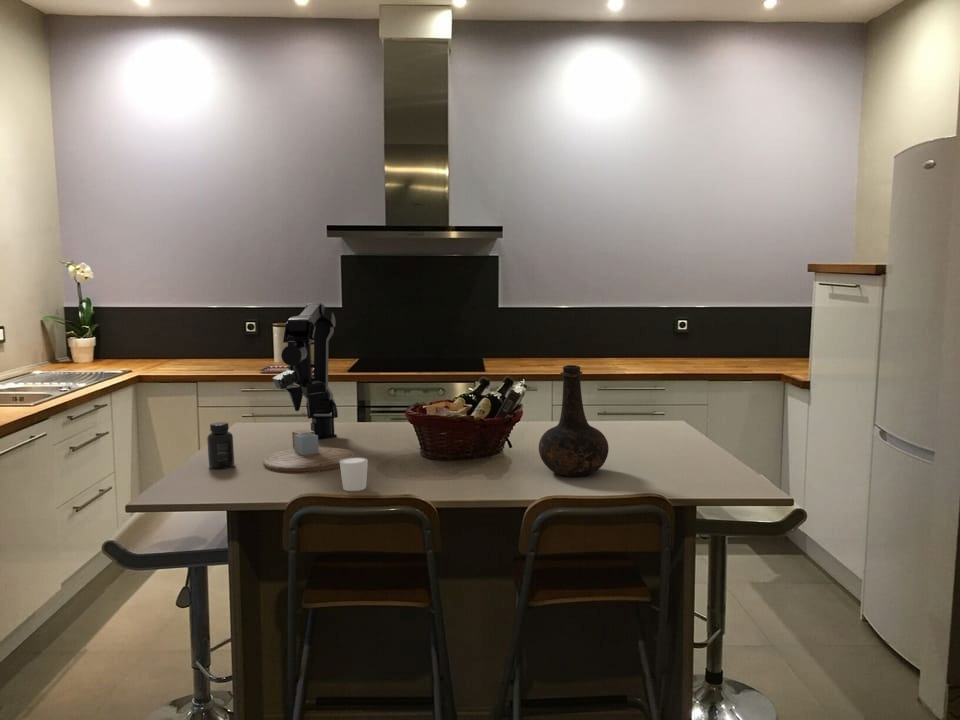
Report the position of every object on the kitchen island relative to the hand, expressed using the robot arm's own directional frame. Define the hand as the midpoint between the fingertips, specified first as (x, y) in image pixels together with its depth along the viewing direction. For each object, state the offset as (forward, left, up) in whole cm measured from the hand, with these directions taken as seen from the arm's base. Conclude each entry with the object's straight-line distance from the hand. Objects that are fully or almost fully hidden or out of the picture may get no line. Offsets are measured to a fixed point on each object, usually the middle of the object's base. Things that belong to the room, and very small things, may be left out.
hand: (304, 413), depth 248 cm
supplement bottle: (+26, +2, -12) cm, 29 cm away
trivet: (+5, +13, -12) cm, 18 cm away
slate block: (+3, +7, -10) cm, 13 cm away
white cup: (+9, +46, -12) cm, 48 cm away
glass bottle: (-42, +70, -12) cm, 82 cm away
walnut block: (-2, -5, -12) cm, 13 cm away
